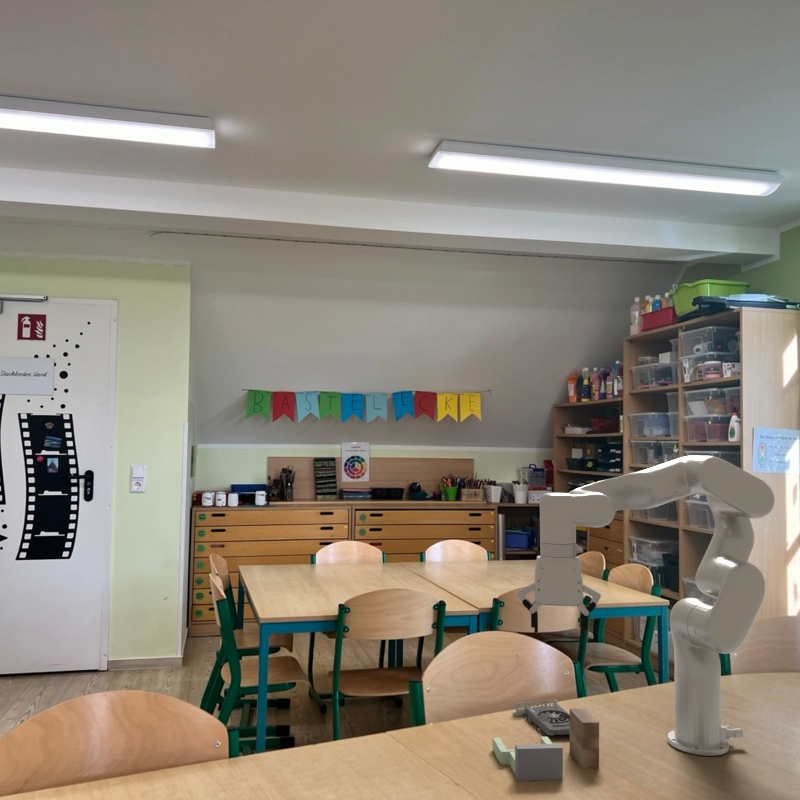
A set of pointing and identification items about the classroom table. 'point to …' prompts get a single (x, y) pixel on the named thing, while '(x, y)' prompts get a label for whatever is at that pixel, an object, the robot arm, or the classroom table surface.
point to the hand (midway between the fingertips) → (559, 632)
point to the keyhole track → (532, 759)
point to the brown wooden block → (584, 738)
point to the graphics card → (546, 716)
